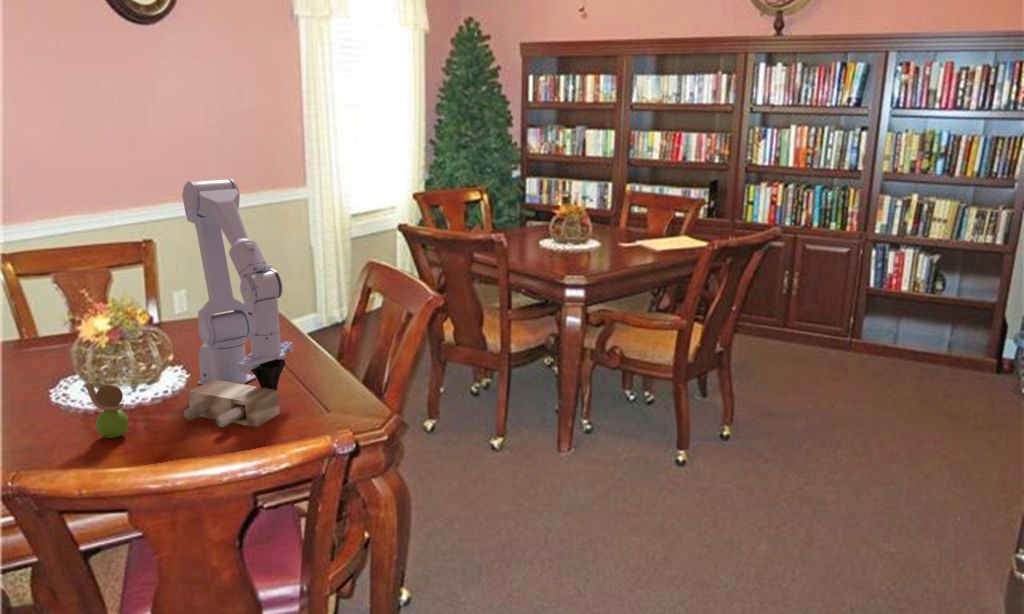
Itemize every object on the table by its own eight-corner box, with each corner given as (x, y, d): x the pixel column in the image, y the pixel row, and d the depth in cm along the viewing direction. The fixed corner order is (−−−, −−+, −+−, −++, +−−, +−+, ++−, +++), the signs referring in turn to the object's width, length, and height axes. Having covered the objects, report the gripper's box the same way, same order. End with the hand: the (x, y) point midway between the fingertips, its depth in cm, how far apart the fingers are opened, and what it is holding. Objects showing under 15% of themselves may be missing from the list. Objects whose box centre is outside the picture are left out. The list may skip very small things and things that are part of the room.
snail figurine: (99, 431, 146) (90, 371, 143) (135, 430, 147) (127, 370, 143) (86, 443, 141) (77, 381, 138) (123, 442, 141) (115, 381, 138)
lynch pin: (213, 429, 146) (211, 410, 145) (258, 404, 157) (256, 386, 156) (230, 433, 144) (228, 413, 143) (274, 407, 156) (273, 389, 155)
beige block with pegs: (173, 423, 150) (170, 399, 148) (218, 400, 161) (216, 377, 160) (240, 436, 144) (238, 411, 143) (282, 411, 155) (281, 388, 154)
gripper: (257, 344, 146) (263, 411, 150) (303, 323, 159) (307, 385, 163) (227, 340, 148) (233, 406, 152) (275, 320, 161) (279, 381, 165)
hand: (269, 395), depth 157 cm, fingers closed
